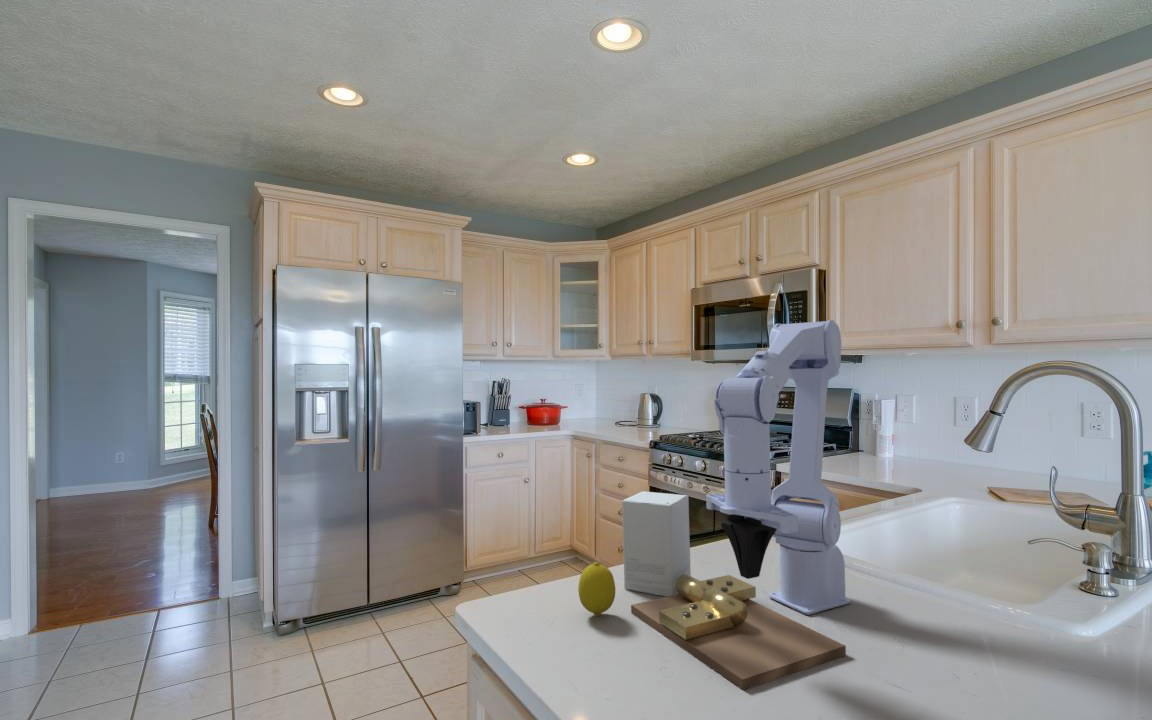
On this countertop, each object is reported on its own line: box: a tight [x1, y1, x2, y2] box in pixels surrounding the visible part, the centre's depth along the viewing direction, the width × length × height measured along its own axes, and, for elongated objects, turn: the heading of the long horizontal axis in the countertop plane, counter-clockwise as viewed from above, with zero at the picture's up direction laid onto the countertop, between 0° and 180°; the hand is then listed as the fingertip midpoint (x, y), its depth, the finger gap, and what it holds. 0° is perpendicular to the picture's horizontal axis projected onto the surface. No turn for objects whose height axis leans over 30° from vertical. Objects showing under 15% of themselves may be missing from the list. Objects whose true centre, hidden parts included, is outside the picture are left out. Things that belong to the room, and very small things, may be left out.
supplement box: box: [621, 490, 692, 597], centre depth 98 cm, size 9×9×15 cm
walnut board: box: [630, 593, 847, 691], centre depth 80 cm, size 17×24×1 cm
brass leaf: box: [659, 587, 748, 640], centre depth 80 cm, size 11×6×3 cm, turn 116°
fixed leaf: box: [676, 574, 757, 602], centre depth 89 cm, size 11×7×3 cm
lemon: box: [577, 561, 616, 617], centre depth 86 cm, size 6×6×8 cm
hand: (750, 576), depth 74 cm, fingers closed
